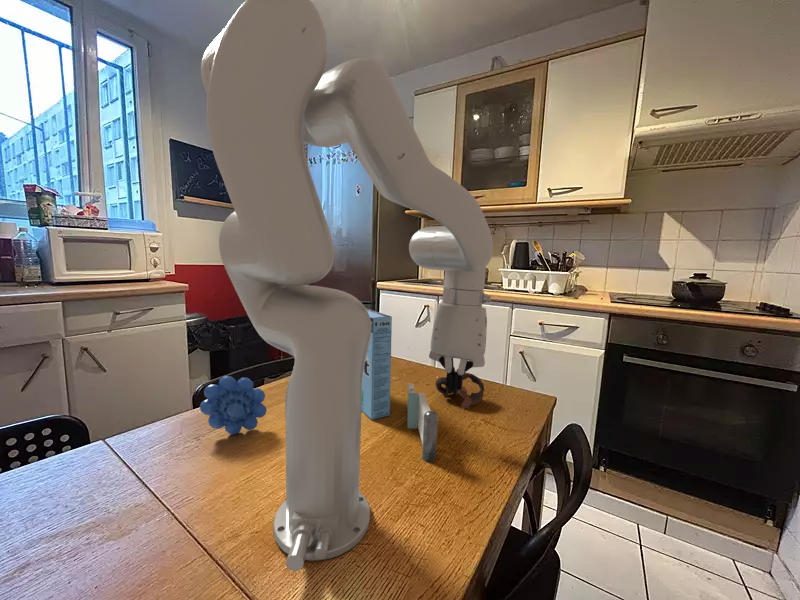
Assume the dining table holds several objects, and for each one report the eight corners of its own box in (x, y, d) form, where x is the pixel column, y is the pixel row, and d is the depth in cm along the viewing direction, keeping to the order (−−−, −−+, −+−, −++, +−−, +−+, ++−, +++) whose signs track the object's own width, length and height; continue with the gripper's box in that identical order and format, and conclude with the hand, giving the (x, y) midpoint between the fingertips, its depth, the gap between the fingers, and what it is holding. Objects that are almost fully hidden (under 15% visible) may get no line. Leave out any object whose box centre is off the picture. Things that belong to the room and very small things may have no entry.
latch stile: (417, 428, 72) (418, 396, 71) (407, 428, 72) (409, 396, 71) (416, 423, 74) (417, 392, 73) (407, 423, 74) (408, 392, 73)
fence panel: (414, 423, 74) (415, 397, 73) (409, 423, 74) (410, 397, 73) (412, 407, 82) (413, 383, 81) (407, 407, 82) (408, 383, 81)
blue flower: (200, 452, 61) (198, 387, 59) (201, 434, 66) (198, 375, 65) (270, 437, 66) (269, 378, 65) (265, 422, 72) (264, 367, 71)
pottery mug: (471, 393, 93) (484, 373, 88) (475, 423, 85) (490, 402, 81) (429, 382, 91) (441, 361, 87) (430, 411, 84) (442, 390, 79)
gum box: (390, 416, 77) (393, 316, 74) (369, 421, 74) (372, 317, 71) (354, 386, 93) (356, 303, 90) (337, 389, 91) (338, 304, 88)
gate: (431, 452, 63) (433, 417, 62) (423, 452, 63) (425, 417, 62) (422, 423, 74) (424, 392, 73) (416, 423, 74) (417, 392, 73)
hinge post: (436, 462, 60) (439, 414, 59) (422, 462, 60) (424, 414, 59) (435, 454, 63) (437, 408, 62) (420, 453, 63) (423, 407, 62)
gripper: (503, 301, 66) (493, 393, 68) (428, 294, 71) (421, 380, 73) (502, 304, 59) (491, 406, 61) (419, 295, 64) (411, 391, 65)
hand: (453, 391), depth 67 cm, fingers closed
